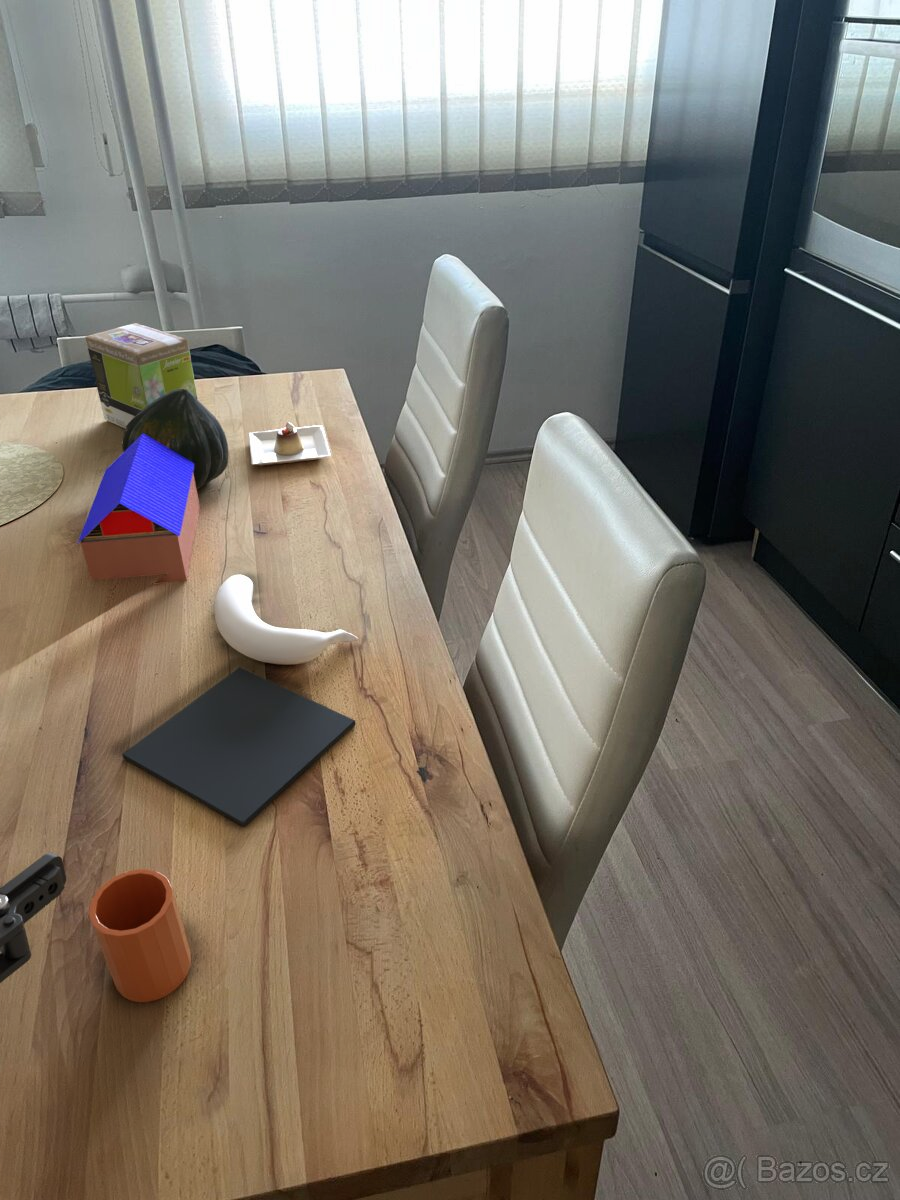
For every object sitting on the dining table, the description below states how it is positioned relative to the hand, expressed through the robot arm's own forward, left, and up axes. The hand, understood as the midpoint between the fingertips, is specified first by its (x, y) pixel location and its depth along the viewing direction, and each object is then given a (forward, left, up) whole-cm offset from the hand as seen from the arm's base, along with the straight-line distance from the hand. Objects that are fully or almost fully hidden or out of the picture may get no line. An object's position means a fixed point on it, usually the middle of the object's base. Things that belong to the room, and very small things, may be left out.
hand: (5, 845), depth 53 cm
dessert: (-54, +82, -21) cm, 100 cm away
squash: (-60, +65, -21) cm, 91 cm away
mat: (-13, +29, -21) cm, 38 cm away
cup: (-1, +7, -21) cm, 22 cm away
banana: (-23, +46, -21) cm, 55 cm away
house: (-50, +50, -21) cm, 73 cm away
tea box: (-81, +78, -21) cm, 114 cm away
